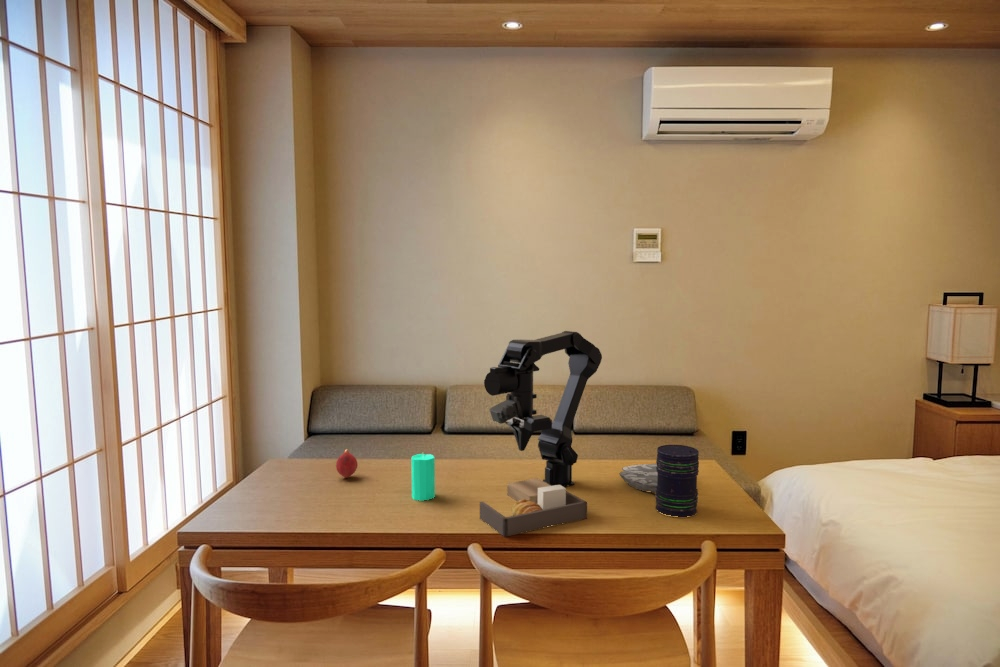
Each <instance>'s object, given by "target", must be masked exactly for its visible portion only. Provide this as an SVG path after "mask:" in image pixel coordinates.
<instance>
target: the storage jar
mask: <svg viewBox="0 0 1000 667" xmlns="http://www.w3.org/2000/svg"><path fill="white" fill-rule="evenodd" d="M699 452H700V451H699V449H697V448H696V447H693V446H690V445H689V446H688V445H683V444H664V445H660V446H658V447H657V448H656V453H657V455H656V460H655V461H656V463H655V464H657V467H656V469H657V470H656V471H657V473H658V476H657V486H656V494H655V504H656V505H655V510H656V509H657V510H658V511H659V512H661V513H663V514H666V515H671V516H678V517H687V516H692V515H695V514H696V513H698V510H697V507H698V501H699V499H698V498H699V497H698V495H699V490H698V489H697V483H698V475H699V472H700V471H699V467H700V466H699V465H700V461H699V454H700V453H699ZM696 515H697V514H696ZM696 515H695V516H696ZM692 517H693V516H692Z"/></svg>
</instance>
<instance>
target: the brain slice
mask: <svg viewBox="0 0 1000 667" xmlns="http://www.w3.org/2000/svg"><path fill="white" fill-rule="evenodd" d="M656 467H657V464H656V463H643V464H634V465H628V466H627V465H626V466H624V467H622V468H621V469H622V471H620V473H619V474H618V475H619V476H620V478H621V479H622V480H624V482H626V483H627V482H628V483H627V484H628V485H629V486H630V487H631V486H633V487H632V488H634V489H635V488H636V489H635V490H637V489H639V490H642V491H641V492H643V491H651V492H653V493H656V486H657V476H658V473H657V471H656V470H657V469H656ZM639 490H638V491H639ZM651 492H650V493H651ZM653 493H652V494H653Z"/></svg>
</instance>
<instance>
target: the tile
mask: <svg viewBox="0 0 1000 667" xmlns="http://www.w3.org/2000/svg"><path fill="white" fill-rule="evenodd" d="M566 491H567V488H566V487H563V486H561V485H554V486H547V487H540V488H538V504H539V505H540V507H541V508H542V509H543V510H544V509H549V508H554V507H559V506H563V505H566Z"/></svg>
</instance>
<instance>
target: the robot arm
mask: <svg viewBox="0 0 1000 667" xmlns="http://www.w3.org/2000/svg"><path fill="white" fill-rule="evenodd" d="M563 350H564V353H565V354H566V355H567V356H568V363H567V364H568V370H569V376H568V379H567V381H566V385H565V387H564V390H563V393H562V396H561V399H560V401H559V405H558V407H557V411H556V413H555V415H554V419H553V420H552V418H551V417H550V416H546V415H543V414H537V409H534V399H537V397H538V396H537V393H535V392H534V372H539V371H540V368H539V366H537V365H536V364H535V363H537V362H538V361H540V360H541V359H542V357H543V356H545V355H547V354H552V353H556V352H559V351H563ZM602 358H603V355H602V352H601V350H600V349H599V348H598V347H597V346H596V345H595V344H593V343H592V342H590V341H589V340H588V339H587V338H584V336H582V335H581V333H579V332H578V331H572V330H571V331H570V330H565V331H561V332H560V333H556V334H551V335H547V336H544V337H540V338H537V339H511V340H510V341H509V342H508V344H507V347H506V349H505V351H504V352H503V354H502V357H501V359H500V361H499V363H498V365H497V366H492V367H491V366H490V367H489V372H488V373H487V374H486V376H485V378H484V380H483V381H484V382H483V384H484V389H485V391H486V392H487V393H488V394H489V395H490V396H494V397H495V396H499V395H504V394H506V396H505V398H506V399H505V400H504V401H501V402H499V403H497V404H496V405H494V406H492V407H490V408H489V412H490V415H491V419H492V421H493V422H497V423H498V424H500V425H501V424H505V425H507V426H508V427H509V428H510V429H511V430H512V432H513V436H514V438H515V440H516V441H515V442H516V444H517V447H518V451H521V452H524V451H525V449H526V447H527V446H528V444H529V442H530V440H531V438H532V435H533V434H534V432H538V431H539V432H540V431H541V433H540V435H539V437H538V438H537V440H538V443H537V447H538V450H539V453H540V457H541V459H542V460H543V461H545V465H546V466H545V467H544V478H543V479H542V481H544V482H545V483H547V484H549V485H551V486H554V485H561V486H563V487H564V488H566V487H569V486H574V485H575V486H576V482H575V481H573V479H572V476H573V470H572V469H573V468H572V466H573V465H574V464H576V463H577V461H578V457H579V455H578V453H577V452H576V451H575V450H574V449H573V447H572V444H573V434H572V429H571V428H572V425H573V422H574V420H575V416H576V413H577V411H578V408H579V405H580V402H581V400H582V397H583V395H584V390H585V389H586V386H587V383H588V380H589V379H590V378H591V377H592V376H593V375H594V374H596V372H597V371H598V369H599V367H600V365H601V362H602Z"/></svg>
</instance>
